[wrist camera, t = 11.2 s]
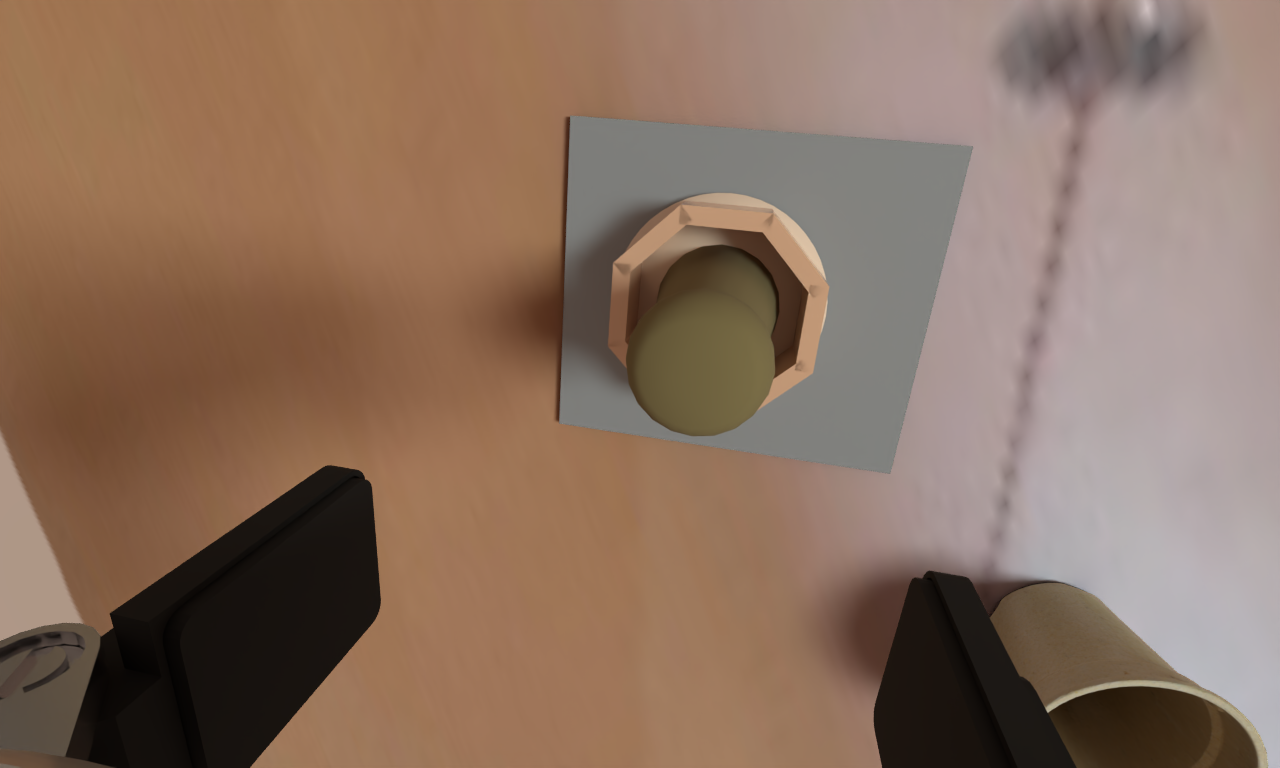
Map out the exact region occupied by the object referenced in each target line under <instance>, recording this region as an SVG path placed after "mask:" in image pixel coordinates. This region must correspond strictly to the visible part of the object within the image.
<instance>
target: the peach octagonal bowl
mask: <svg viewBox="0 0 1280 768" xmlns="http://www.w3.org/2000/svg"><path fill="white" fill-rule="evenodd" d="M721 244H723V245H728V246H732V247H736V248H741V249H743V250H745V251H746V252H748V253H750V254H751V255H753V256H755V257H756V258H758V259H759V260H760V261H761V262H762V263H763V265H764V266H765V267H766V268H767V269H768V270H769V272H770V273H771V274H772V276H773V279H774V281H775V284H776V287H777V289H778V292H779V310H780V312H779V316H778V319H777V322H776V326H775V329H774V332H773V334H772V336H771V340H772V343H773V345H774V358H775V375H774V378H773V382H772V385H771V388H770V392H769V395H768V396H767V397H766V399H765V400H764V402H763V403H762V404H761V406H760V407H759V409H760V408H762V407H763V406H765V405H766V404H768V403H769V402H771V401H772V400H774V399H775V398H777V397H778V396H780V395H781V394H783V393H784V392H786V391H787V390H789V389H790V388H792V387H793V386H795V385H796V384H798V383H799V382H801V381H802V380H804V379H805V378H807V377H808V376H810V375H811V374H813V371H814V365H815V360H816V355H817V350H818V344H819V339H820V334H821V332H822V329H823V326H824V322H825V318H826V311H827V303H828V301H827V297H828V292H829V285H828V283H827V282H826V277H825V272H824V269H823V266H822V263H821V260H820V258H819V255H818V253H817V251H816V249H815V247H814V245H813V244H812V242H811V241H810V239H809V238H808V236H807V235H806V233H805V232H804V231H803V230H802V229H801V228H800V226H799V225H798V224H797V223H796V222H795V221H794V220H793V219H791V218H790V217H789V216H788V215H787V214H786V213H784V212H783V211H781V210H779V209H778V208H776V207H775V206H773V205H771V204H769V203H767V202H765V201H762V200H760V199H757V198H754V197H751V196H747V195H742V194H736V193H709V194H702V195H698V196H694V197H690V198H687V199H685V200H682V201H680V202H677V203H675V204H673V205H671V206H669V207H668V208H666V209H664V210H662V211H661V212H660V213H658V214H657V215H656V216H654V217H653V218H652V219H650V220H649V221H648V222H647V223H646V224H645V225H644V226H643V227H642V228H641V229H640V230H639V232H638V233H637V234H636V236H635V237H634V238H633V240H632V241H631V243H630V244H629V246H628V248H627V250H626V251H625V253H624V254H623V255H622V256H620V257H619V258H618V259H617V260H616V261H615V262H613V274H612V290H611V305H610V321H609V337H608V347H609V348H610V349H611V350H612V352H613V353H614V354H615V355H616V356H617V358H618V359H619V360H620V361H621V362H622V364H623V365H624V366H625V367H626V368H627V366H626V354H627V349H628V344H629V339H630V336H631V334H632V332H633V331H634V329H635V327H636V326H637V324H638V322H639V320H640V319H641V317H642V316H643V315H644V314H645V313H646V312H647V311H648V310H649V309H650V308H652V307H653V306H654V305H655V304H656V302H657V297H658V292H659V287H660V283H661V282H662V280H663V278H664V276H665V275H666V273H667V271H668V269H669V268H670V267H671V266H672V265H673V264H674V263H675V262H676V261H677V260H678V259H679V258H681V257H682V256H683V255H684V254H686V253H688V252H690V251H693V250H695V249H697V248H700V247H702V246H710V245H721ZM759 409H758V410H759Z"/></svg>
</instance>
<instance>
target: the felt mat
mask: <svg viewBox="0 0 1280 768" xmlns="http://www.w3.org/2000/svg"><path fill="white" fill-rule="evenodd" d="M972 149H973V146H961V145H948V144H935V143H922V142H909V141H896V140H883V139H870V138H857V137H844V136H831V135H818V134H805V133H792V132H778V131H765V130H752V129H739V128H726V127H713V126H700V125H687V124H674V123H661V122H648V121H635V120H622V119H609V118H596V117H582V116H570V139H569V167H568V195H567V223H566V251H565V279H564V307H563V335H562V363H561V391H560V419H559V423H560V424H566V425H573V426H579V427H586V428H592V429H599V430H606V431H612V432H619V433H625V434H632V435H638V436H645V437H652V438H658V439H665V440H671V441H678V442H684V443H691V444H698V445H704V446H711V447H717V448H724V449H730V450H737V451H744V452H750V453H757V454H763V455H770V456H776V457H783V458H790V459H796V460H803V461H809V462H816V463H822V464H829V465H836V466H842V467H849V468H855V469H862V470H868V471H875V472H882V473H888V474H890V473H891V469H892V465H893V461H894V457H895V453H896V449H897V445H898V441H899V437H900V433H901V429H902V425H903V421H904V417H905V413H906V409H907V405H908V401H909V398H910V394H911V390H912V386H913V382H914V378H915V374H916V370H917V366H918V362H919V358H920V354H921V350H922V346H923V342H924V338H925V334H926V330H927V326H928V323H929V319H930V315H931V311H932V307H933V303H934V299H935V295H936V291H937V287H938V283H939V279H940V275H941V271H942V267H943V263H944V259H945V255H946V252H947V248H948V244H949V240H950V236H951V232H952V228H953V224H954V220H955V216H956V212H957V208H958V204H959V200H960V196H961V192H962V188H963V184H964V180H965V177H966V173H967V169H968V165H969V161H970V157H971V153H972ZM709 193H736V194H742V195H747V196H751V197H754V198H757V199H760V200H762V201H765V202H767V203H769V204H771V205H773V206H775V207H776V208H778V209H779V210H781V211H783V212H784V213H786V214H787V215H788V216H789V217H790V218H791V219H793V220H794V221H795V222H796V223H797V224H798V225H799V226H800V228H801V229H802V230H803V231H804V232H805V233H806V235H807V236H808V238H809V239H810V241H811V242H812V244H813V245H814V247H815V249H816V251H817V253H818V255H819V258H820V260H821V263H822V266H823V269H824V272H825V277H826V282H827V283H828V285H829V292H828V297H827V301H828V303H827V311H826V318H825V322H824V326H823V329H822V332H821V334H820V339H819V344H818V350H817V355H816V360H815V365H814V371H813V374H811V375H810V376H808V377H807V378H805V379H804V380H802V381H801V382H799V383H798V384H796V385H795V386H793V387H792V388H790V389H789V390H787V391H786V392H784V393H783V394H781V395H780V396H778V397H777V398H775V399H774V400H772V401H771V402H769V403H768V404H766V405H765V406H763V407H762V408H760V409H759V410H757V411H756V413H755V414H754V415H753V416H752V417H751V418H749V419H748V420H747V421H745V422H744V423H742V424H741V425H740V426H738V427H737V428H736V429H733V430H730V431H727V432H724V433H721V434H718V435H715V436H689V435H685V434H681V433H677V432H673V431H670V430H669V429H667V428H665V427H664V426H662V425H660V424H659V423H657V422H655V421H654V420H652V419H651V418H650V416H649V415H648V414H647V413H646V412H645V411H644V410H643V409H642V408H641V407H640V406H639V404H638V403H637V401H636V399H635V397H634V394H633V392H632V390H631V388H630V386H629V382H628V374H627V368H626V367H625V366H624V365H623V364H622V362H621V361H620V360H619V359H618V358H617V356H616V355H615V354H614V353H613V352H612V350H611V349H610V348H609V347H608V337H609V321H610V305H611V290H612V274H613V262H615V261H616V260H617V259H618V258H619V257H620V256H622V255H623V254H624V253H625V251H626V250H627V248H628V246H629V244H630V243H631V241H632V240H633V238H634V237H635V236H636V234H637V233H638V232H639V230H640V229H641V228H642V227H643V226H644V225H645V224H646V223H647V222H648V221H649V220H650V219H652V218H653V217H654V216H656V215H657V214H658V213H660V212H661V211H662V210H664V209H666V208H668V207H669V206H671V205H673V204H675V203H677V202H680V201H682V200H685V199H687V198H690V197H694V196H698V195H702V194H709Z"/></svg>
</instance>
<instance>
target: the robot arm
mask: <svg viewBox="0 0 1280 768" xmlns="http://www.w3.org/2000/svg"><path fill="white" fill-rule="evenodd" d="M380 604H381V596H380V584H379V571H378V558H377V546H376V533H375V520H374V508H373V495H372V486H371V483H370V482H369V481H368V480H365V477H364V475H363V473H362V472H361V471H359V470H355V469H349V468H343V467H338V466H332V465H327V466H325V467H323V468H321V469H320V470H318V471H317V472H315V473H314V474H312V475H311V476H310V477H308V478H307V479H305V480H304V481H302V482H301V483H299V484H298V485H296V486H295V487H294V488H292V489H291V490H289V491H288V492H286V493H285V494H283V495H282V496H280V497H279V498H277V499H276V500H275V501H273V502H272V503H270V504H269V505H267V506H266V507H264V508H263V509H261V510H260V511H258V512H257V513H256V514H254V515H253V516H251V517H250V518H248V519H247V520H245V521H244V522H242V523H241V524H240V525H238V526H237V527H235V528H234V529H232V530H231V531H229V532H228V533H226V534H225V535H223V536H222V537H221V538H219V539H218V540H216V541H215V542H213V543H212V544H210V545H209V546H207V547H206V548H205V549H203V550H202V551H200V552H199V553H197V554H196V555H194V556H193V557H191V558H190V559H188V560H187V561H186V562H184V563H183V564H181V565H180V566H178V567H177V568H175V569H174V570H172V571H171V572H170V573H168V574H167V575H165V576H164V577H162V578H161V579H159V580H158V581H156V582H155V583H153V584H152V585H151V586H149V587H148V588H146V589H145V590H143V591H142V592H140V593H139V594H137V595H136V596H134V597H133V598H132V599H130V600H129V601H127V602H126V603H124V604H123V605H121V606H120V607H118V608H117V609H116V610H114V611H113V612H111V613H110V616H111V620H112V624H113V627H114V628H113V629H111V630H110V631H109V632H107V633H106V634H104V635H103V636H102V637H101V636H100V634H99V633H98V632H97V631H96V630H95V629H94V628H93V627H90V626H87V625H84V624H80V623H79V624H78V623H61V624H55V625H48V626H42V627H38V628H35V629H31V630H28V631H25V632H21V633H18V634H16V635H14V636H11V637H9V638H7V639H4V640H2V641H0V768H250V767H251V766H252V764H253V763H254V762H255V761H256V760H257V758H258V757H259V756H260V755H261V754H262V753H263V751H264V750H265V749H266V748H267V747H268V746H269V744H270V743H271V742H272V741H273V740H274V739H275V737H276V736H277V735H278V734H279V733H280V731H281V730H282V729H283V728H284V727H285V726H286V724H287V723H288V722H289V721H290V720H291V719H292V717H293V716H294V715H295V714H296V713H297V711H298V710H299V709H300V708H301V707H302V706H303V704H304V703H305V702H306V701H307V700H308V699H309V697H310V696H311V695H312V694H313V693H314V691H315V690H316V689H317V688H318V687H319V686H320V684H321V683H322V682H323V681H324V680H325V679H326V677H327V676H328V675H329V674H330V673H331V671H332V670H333V669H334V668H335V667H336V666H337V664H338V663H339V662H340V661H341V660H342V659H343V657H344V656H345V655H346V654H347V653H348V651H349V650H350V649H351V648H352V647H353V646H354V644H355V643H356V642H357V641H358V640H359V639H360V637H361V636H362V635H363V634H364V633H365V631H366V630H367V629H368V628H369V627H370V626H371V624H372V623H373V622H374V620H375V619H376V617H377V615H378V612H379V609H380ZM874 729H875V734H876V739H877V744H878V749H879V754H880V758H881V763H882V768H1077V767H1076V765H1075V763H1074V761H1073V760H1072V758H1071V756H1070V754H1069V752H1068V750H1067V748H1066V746H1065V744H1064V743H1063V741H1062V739H1061V737H1060V735H1059V733H1058V731H1057V729H1056V727H1055V726H1054V724H1053V722H1052V720H1051V718H1050V716H1049V714H1048V712H1047V710H1046V709H1045V707H1044V705H1043V703H1042V701H1041V699H1040V697H1039V695H1038V693H1037V692H1036V690H1035V689H1034V687H1033V686H1032V684H1031V683H1030V681H1028V680H1027V679H1025V678H1024V677H1021V676H1019V674H1018V672H1017V670H1016V668H1015V666H1014V664H1013V662H1012V660H1011V658H1010V656H1009V655H1008V653H1007V651H1006V649H1005V647H1004V645H1003V643H1002V641H1001V639H1000V637H999V635H998V633H997V631H996V629H995V627H994V625H993V623H992V621H991V619H990V617H989V616H988V614H987V612H986V610H985V608H984V606H983V604H982V602H981V600H980V598H979V596H978V594H977V592H976V590H975V588H974V586H973V584H972V582H971V581H970V580H969V578H966V577H963V576H957V575H951V574H946V573H940V572H934V571H928V572H926V574H925V575H924V577H923V579H920V578H913V579H912V581H911V583H910V585H909V589H908V592H907V596H906V599H905V603H904V606H903V610H902V613H901V616H900V620H899V623H898V627H897V630H896V634H895V637H894V641H893V644H892V647H891V651H890V654H889V658H888V661H887V665H886V668H885V672H884V675H883V678H882V682H881V685H880V689H879V692H878V696H877V699H876V703H875V708H874Z"/></svg>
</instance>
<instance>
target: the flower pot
mask: <svg viewBox="0 0 1280 768" xmlns="http://www.w3.org/2000/svg"><path fill="white" fill-rule="evenodd" d="M990 619H991V621H992V623H993V625H994V627H995V629H996V631H997V633H998V635H999V637H1000V639H1001V641H1002V643H1003V645H1004V647H1005V649H1006V651H1007V653H1008V655H1009V656H1010V658H1011V660H1012V662H1013V664H1014V666H1015V668H1016V670H1017V672H1018V674H1019V676H1021V677H1024V678H1025V679H1027V680H1028V681H1030V683H1031V684H1032V686H1033V687H1034V689H1035V690H1036V692H1037V693H1038V695H1039V697H1040V699H1041V701H1042V703H1043V705H1044V707H1045V709H1046V710H1047V712H1048V714H1049V716H1050V718H1051V720H1052V722H1053V724H1054V726H1055V727H1056V729H1057V731H1058V733H1059V735H1060V737H1061V739H1062V741H1063V743H1064V744H1065V746H1066V748H1067V750H1068V752H1069V754H1070V756H1071V758H1072V760H1073V761H1074V763H1075V765H1076V767H1077V768H1268V761H1267V752H1266V749H1265V747H1264V744H1263V742H1262V740H1261V737H1260V735H1259V734H1258V732H1257V731H1256V729H1255V727H1254V726H1253V725H1252V724H1251V722H1250V721H1249V720H1248V719H1247V718H1246V717H1245V716H1244V715H1243V714H1242V713H1241V712H1240V711H1239V710H1238V709H1237V708H1235V707H1234V706H1233V705H1232V704H1230V703H1229V702H1228V701H1226V700H1225V699H1223V698H1221V697H1220V696H1218V695H1216V694H1214V693H1213V692H1211V691H1209V690H1206V689H1204V688H1202V687H1200V686H1199V685H1198V684H1196V683H1195V682H1193V681H1192V680H1190V679H1189V678H1187V677H1185V676H1183V675H1181V674H1179V673H1177V672H1176V671H1175V670H1174V669H1173V668H1172V667H1171V666H1170V665H1169V664H1168V663H1167V662H1165V661H1164V660H1163V659H1162V658H1161V657H1160V656H1159V655H1158V654H1157V653H1156V652H1155V651H1154V650H1152V649H1151V648H1150V647H1149V646H1148V645H1147V644H1146V643H1145V642H1144V641H1143V640H1142V639H1141V638H1140V637H1139V636H1137V635H1136V634H1135V633H1134V632H1133V631H1132V630H1131V629H1130V628H1129V627H1128V626H1127V625H1126V624H1124V623H1123V622H1122V621H1121V620H1120V619H1119V618H1118V617H1117V616H1116V615H1115V614H1114V613H1113V612H1112V611H1111V610H1110V609H1109V608H1108V607H1107V606H1106V605H1105V604H1104V603H1103V602H1102V601H1101V600H1100V599H1098V598H1097V597H1096V596H1094V595H1092V594H1090V593H1087V592H1085V591H1083V590H1080V589H1077V588H1074V587H1071V586H1068V585H1066V584H1062V583H1043V584H1036V585H1031V586H1027V587H1024V588H1021V589H1019V590H1016V591H1014V592H1012V593H1010V594H1009V595H1007V596H1006V597H1004V598H1003V599H1002V600H1001V601H1000V603H999V605H998V607H997V608H996V610H995V611H994V613H993V614H992V615H991V617H990Z"/></svg>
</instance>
